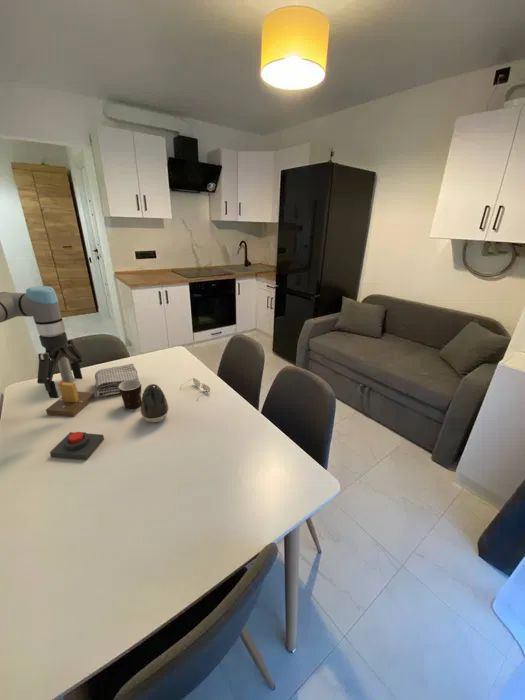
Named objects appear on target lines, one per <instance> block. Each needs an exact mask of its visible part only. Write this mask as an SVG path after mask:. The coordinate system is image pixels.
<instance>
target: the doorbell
mask: <svg viewBox="0 0 525 700" xmlns="http://www.w3.org/2000/svg"><path fill="white" fill-rule="evenodd" d="M81 432H82V434H83V437H84V438H83V440H82V441H80V442H79V443H75V444H71V443H70V441H69V436H70V435H71V434H72V433H75V432H74V431H70V432H68V434H67V435H66V436H65V437H64V438H62V440H61V441H60V442H59V443H57V445H56V446H55V447H53V449H52V450H50V452H49V454H50V457H51V458H53V459H66V460H79V461H88V460H89V459H90V457H91V456H92V455H93V454H94V453H95V451H96V450H97V449H98V448H99V446H100V445H101V444H102V443H103V442H104V441H105V437H104V434H98V433H87V432H85V431H84V432H83V431H81Z"/></svg>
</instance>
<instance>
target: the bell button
mask: <svg viewBox="0 0 525 700" xmlns="http://www.w3.org/2000/svg"><path fill="white" fill-rule="evenodd" d="M82 432H83V431H75V432H74V433H72V434H71V435H70V436H69V441H70V443H71V444H75V443H79V442H80V441H82V440H83V438H84V437H83V434H82Z"/></svg>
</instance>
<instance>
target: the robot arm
mask: <svg viewBox="0 0 525 700" xmlns="http://www.w3.org/2000/svg"><path fill="white" fill-rule="evenodd" d="M16 317H31V318H33V321H34V323H35V327H36V330H37V333H38V335H39V336H38V338H39V342H40V344H41V346H42V348H44V349H45V352H43V353H42V352H41V353H38V354H37V356H38V369H37V379H36V382H37V384H40V385H44V388H45V391H46V392H47V394H48V398H49V399H58V398H59V393H58V389H57V386H56V382H55V380H53V377H54V374H55V371H56V366H57V365H58V361H59V360H60V359H61V358H63V357H66V358H67V359H68V360H69V362H71V363H70V368H71V372H72V376H73V380H74V379H75V380H82V379H83V375H82V371H81V370H82V369H81V365H80V364H81V363H82V362H83V360H82V359H83V356H82V354H81V352H80V351H79V350H78V348H77V347H76V346H75V344H74V342H73V339H68V336H67V332H66V328H65V324H64V320H63V317H62V313H61V309H60V304H59V299H58V296H57V294H56V290H55V289H54V288H53V287H51V286H48V285H41V286H39V285H37V286H30V287H28V288H26V290H25V292H8V291H1V292H0V324H1V323H3V322H6V321H9V320H12V319H14V318H16Z"/></svg>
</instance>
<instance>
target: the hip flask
mask: <svg viewBox="0 0 525 700" xmlns="http://www.w3.org/2000/svg"><path fill="white" fill-rule="evenodd" d="M57 366H58V370H59V373H60V378H61V382H66V383H74V382H73V380H74V375H73V371H72V367H71V363H70V360H69V359H67V358H66V357H63V358H61V359H60V360H59V361H58V363H57Z"/></svg>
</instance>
